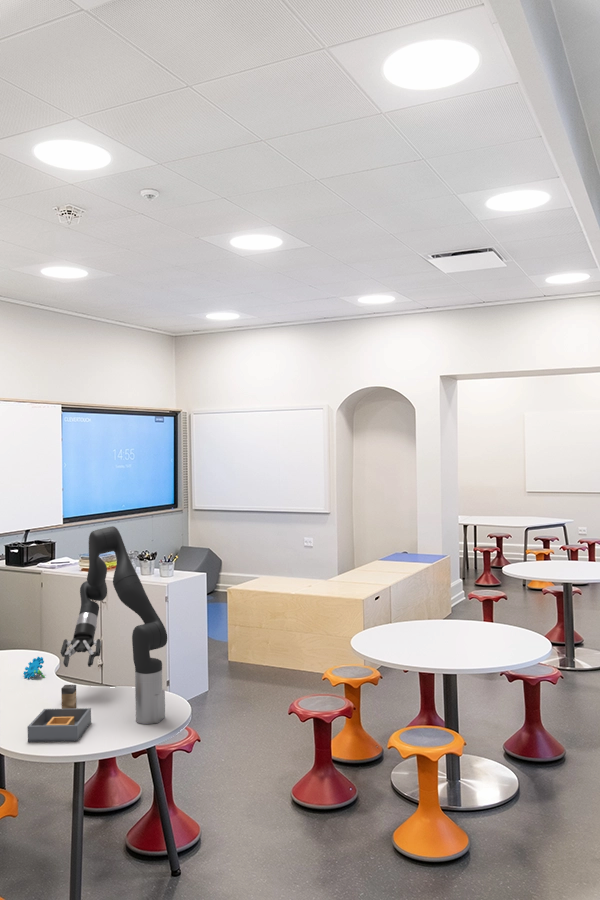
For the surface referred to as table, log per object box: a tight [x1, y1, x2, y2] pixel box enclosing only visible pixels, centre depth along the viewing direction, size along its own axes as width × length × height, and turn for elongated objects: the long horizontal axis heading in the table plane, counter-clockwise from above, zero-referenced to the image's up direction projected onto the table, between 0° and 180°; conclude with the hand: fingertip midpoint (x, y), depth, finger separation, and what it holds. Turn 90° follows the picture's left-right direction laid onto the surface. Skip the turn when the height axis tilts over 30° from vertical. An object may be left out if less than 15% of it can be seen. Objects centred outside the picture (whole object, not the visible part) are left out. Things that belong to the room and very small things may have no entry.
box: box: [27, 707, 92, 743], centre depth 246 cm, size 16×16×5 cm
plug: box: [60, 684, 77, 709], centre depth 262 cm, size 4×4×10 cm
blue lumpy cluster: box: [22, 656, 46, 680], centre depth 307 cm, size 11×6×10 cm
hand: (77, 665), depth 273 cm, fingers open, 8 cm apart
